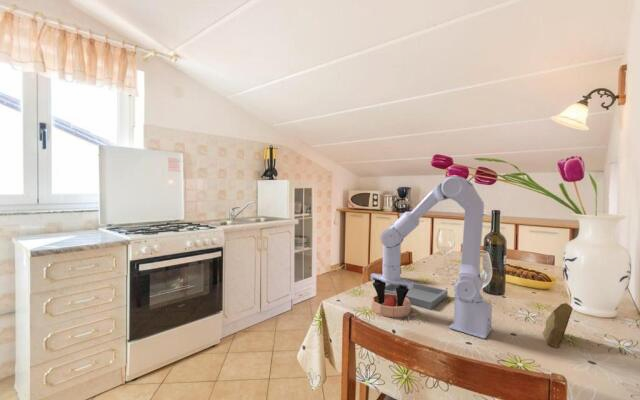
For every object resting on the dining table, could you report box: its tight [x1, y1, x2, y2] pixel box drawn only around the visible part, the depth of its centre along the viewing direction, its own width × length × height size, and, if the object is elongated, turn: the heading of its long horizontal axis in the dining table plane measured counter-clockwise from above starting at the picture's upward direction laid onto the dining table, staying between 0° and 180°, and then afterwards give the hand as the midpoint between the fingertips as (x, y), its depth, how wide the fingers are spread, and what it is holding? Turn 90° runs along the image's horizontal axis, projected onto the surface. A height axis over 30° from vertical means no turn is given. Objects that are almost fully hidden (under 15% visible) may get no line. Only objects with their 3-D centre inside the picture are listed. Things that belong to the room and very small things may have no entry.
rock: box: [542, 302, 574, 349], centre depth 83 cm, size 11×9×10 cm
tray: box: [385, 282, 449, 311], centre depth 114 cm, size 20×16×2 cm
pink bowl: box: [371, 293, 412, 319], centre depth 101 cm, size 12×13×3 cm
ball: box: [385, 295, 397, 307], centre depth 101 cm, size 4×4×4 cm
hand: (390, 305), depth 101 cm, fingers open, 6 cm apart
